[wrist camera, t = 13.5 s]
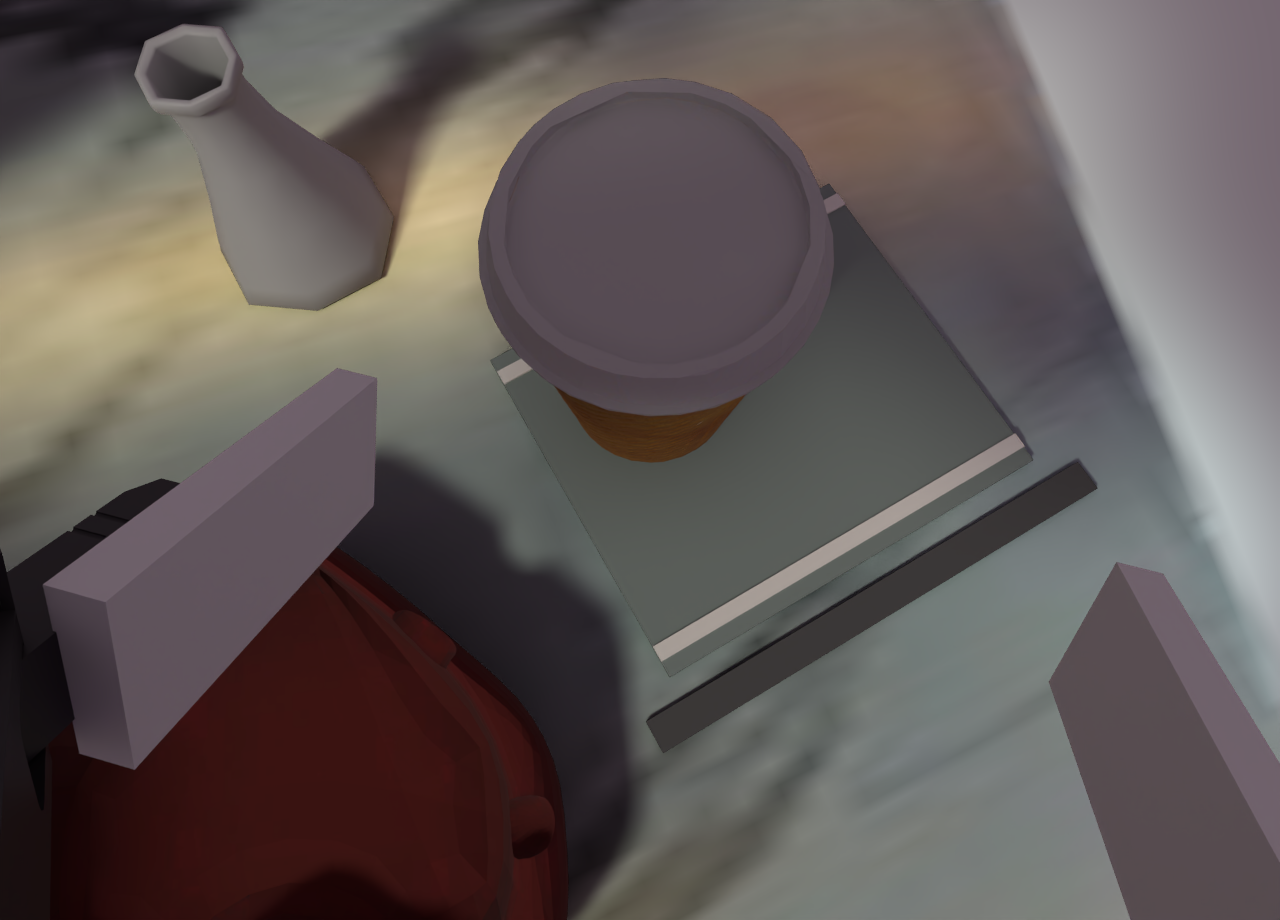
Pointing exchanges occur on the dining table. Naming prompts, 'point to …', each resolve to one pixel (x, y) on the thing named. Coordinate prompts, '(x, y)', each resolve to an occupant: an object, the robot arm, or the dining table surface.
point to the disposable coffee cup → (655, 259)
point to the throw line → (868, 608)
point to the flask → (267, 178)
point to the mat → (784, 464)
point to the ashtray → (323, 783)
